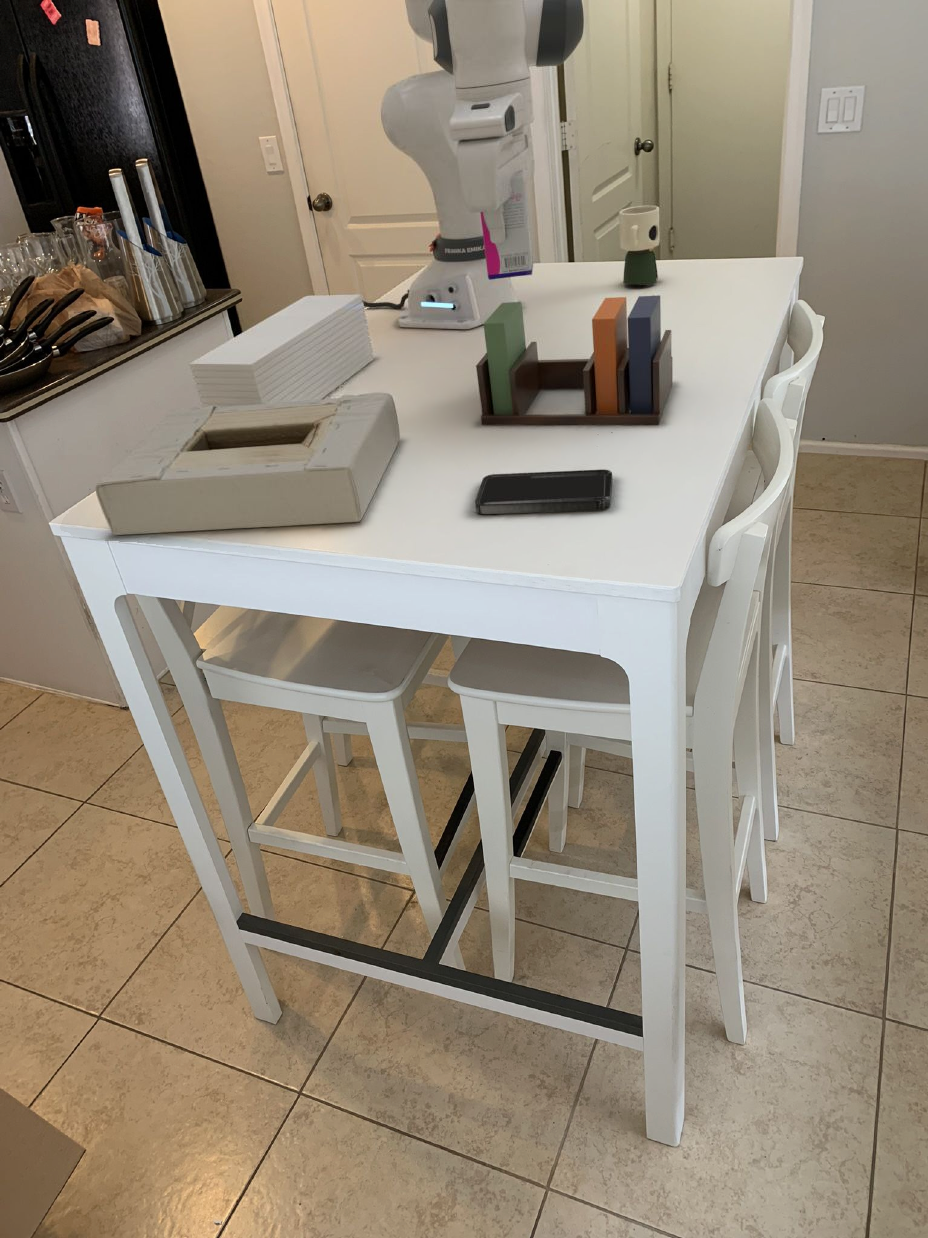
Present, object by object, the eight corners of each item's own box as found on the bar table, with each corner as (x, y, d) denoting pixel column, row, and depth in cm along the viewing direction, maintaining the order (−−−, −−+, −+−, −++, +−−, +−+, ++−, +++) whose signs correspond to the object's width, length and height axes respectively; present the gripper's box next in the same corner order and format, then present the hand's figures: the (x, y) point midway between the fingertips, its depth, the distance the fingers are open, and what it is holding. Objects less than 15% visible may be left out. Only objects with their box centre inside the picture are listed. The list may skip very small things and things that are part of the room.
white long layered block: (320, 358, 157) (306, 295, 151) (374, 359, 153) (361, 294, 147) (211, 434, 134) (189, 363, 128) (270, 437, 129) (251, 364, 123)
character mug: (653, 292, 163) (652, 215, 156) (615, 293, 166) (612, 217, 159) (665, 275, 172) (665, 201, 164) (628, 276, 174) (626, 203, 167)
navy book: (630, 417, 118) (627, 317, 111) (640, 391, 125) (638, 296, 118) (652, 417, 118) (650, 316, 110) (661, 391, 124) (660, 295, 117)
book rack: (481, 425, 123) (474, 367, 119) (508, 387, 134) (502, 333, 129) (659, 424, 115) (658, 363, 111) (672, 384, 126) (672, 327, 121)
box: (402, 440, 123) (182, 455, 128) (393, 385, 118) (165, 403, 124) (367, 526, 104) (111, 539, 109) (354, 465, 100) (88, 482, 105)
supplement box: (533, 263, 119) (526, 167, 113) (532, 275, 115) (524, 176, 108) (490, 268, 120) (479, 173, 114) (487, 280, 115) (476, 182, 109)
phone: (609, 500, 98) (473, 505, 101) (609, 509, 98) (474, 514, 102) (612, 468, 104) (484, 473, 107) (613, 477, 105) (485, 482, 108)
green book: (494, 418, 124) (483, 323, 117) (511, 393, 131) (501, 302, 124) (514, 418, 123) (503, 322, 116) (530, 393, 130) (521, 301, 123)
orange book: (597, 417, 120) (591, 319, 113) (609, 392, 127) (605, 297, 119) (618, 417, 119) (614, 318, 112) (629, 391, 126) (626, 296, 119)
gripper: (493, 100, 116) (504, 215, 124) (443, 126, 100) (459, 256, 108) (541, 95, 114) (549, 212, 122) (498, 120, 98) (510, 253, 106)
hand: (507, 233), depth 115 cm, fingers closed on supplement box, 6 cm apart
